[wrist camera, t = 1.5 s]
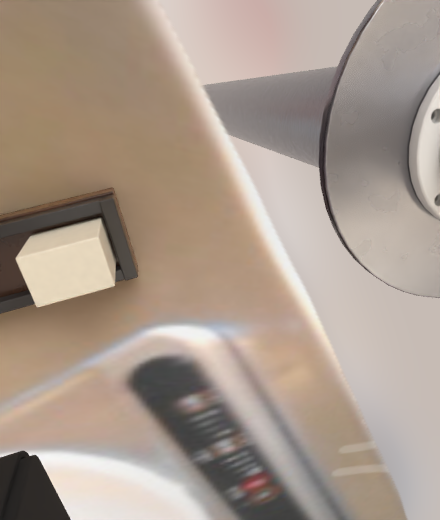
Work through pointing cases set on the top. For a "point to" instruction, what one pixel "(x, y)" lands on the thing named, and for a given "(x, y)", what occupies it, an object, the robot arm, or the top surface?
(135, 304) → the top surface
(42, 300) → the cream block
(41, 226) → the rail
